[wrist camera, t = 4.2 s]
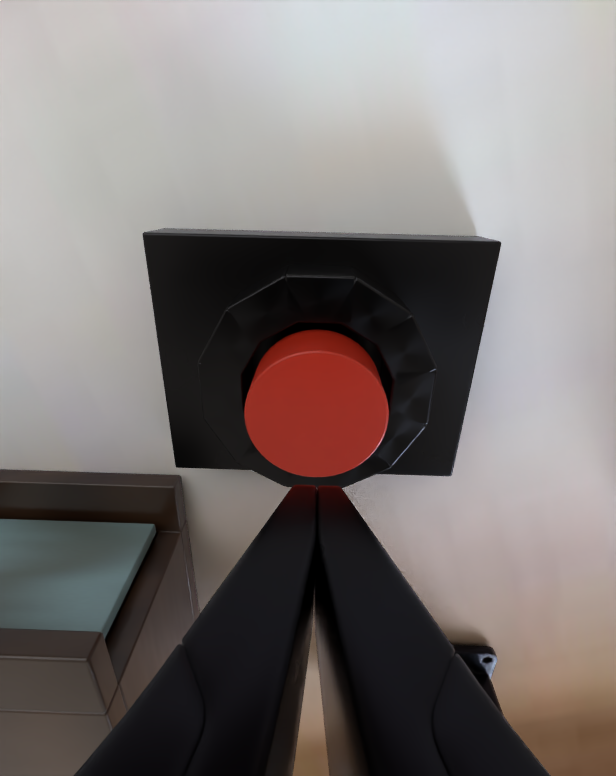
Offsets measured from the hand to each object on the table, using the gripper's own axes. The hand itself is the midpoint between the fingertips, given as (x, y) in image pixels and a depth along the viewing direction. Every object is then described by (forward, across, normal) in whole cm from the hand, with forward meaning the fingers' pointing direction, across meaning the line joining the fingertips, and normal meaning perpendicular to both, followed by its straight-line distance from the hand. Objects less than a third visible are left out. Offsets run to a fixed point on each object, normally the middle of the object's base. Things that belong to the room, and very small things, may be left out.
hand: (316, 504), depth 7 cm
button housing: (+8, 0, 0) cm, 8 cm away
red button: (+5, 0, 0) cm, 5 cm away
